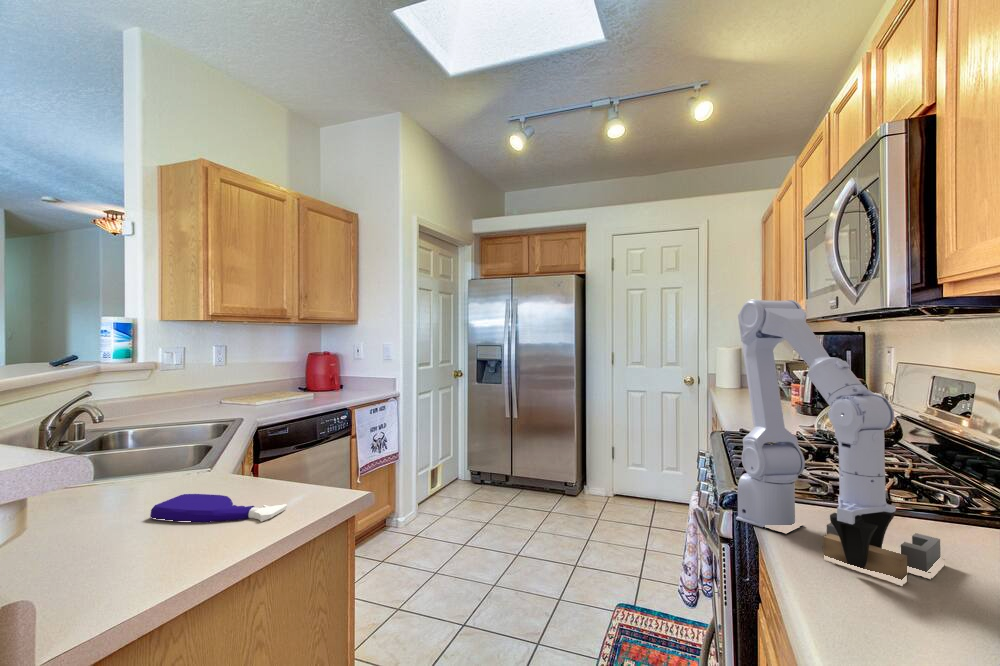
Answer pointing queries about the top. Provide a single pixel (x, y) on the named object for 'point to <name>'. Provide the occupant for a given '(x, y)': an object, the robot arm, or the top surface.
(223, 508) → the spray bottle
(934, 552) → the end caps
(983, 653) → the top surface
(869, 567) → the slat
